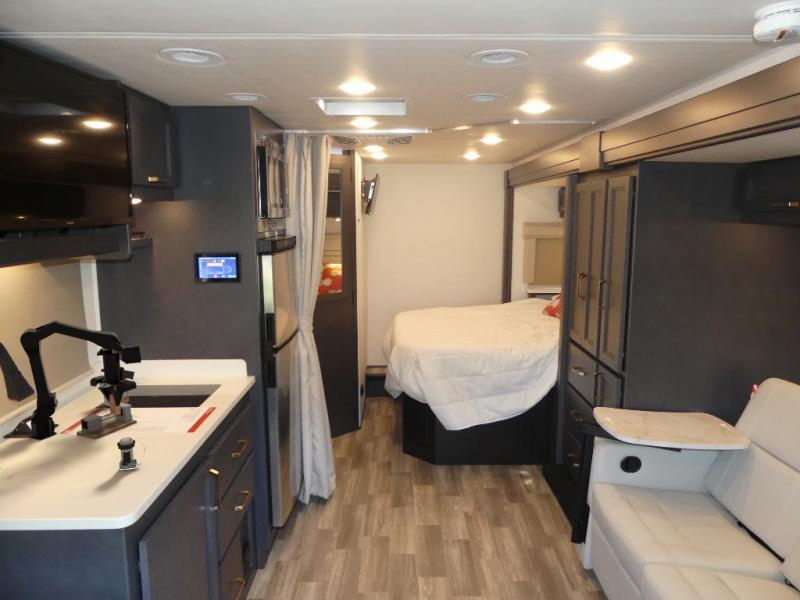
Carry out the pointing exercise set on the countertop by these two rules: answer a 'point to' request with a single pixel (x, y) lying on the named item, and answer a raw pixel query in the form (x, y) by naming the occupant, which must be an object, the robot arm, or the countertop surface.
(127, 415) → the socket
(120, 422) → the base plate
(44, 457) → the countertop surface
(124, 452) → the push button
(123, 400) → the small box
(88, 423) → the outer sleeve
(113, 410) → the sliding bolt with handle
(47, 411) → the robot arm
